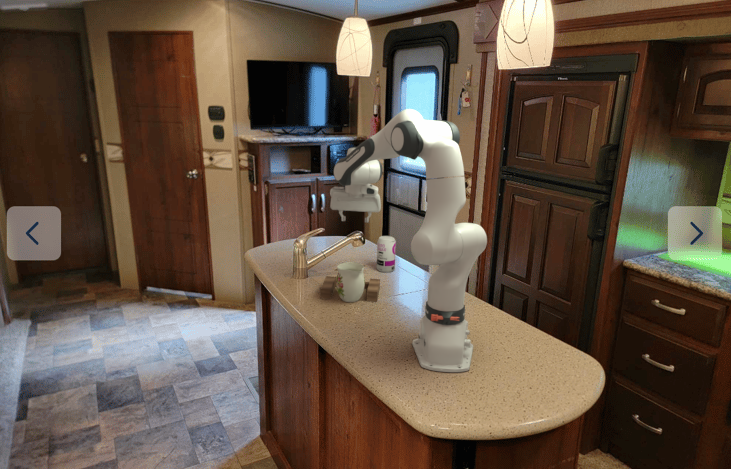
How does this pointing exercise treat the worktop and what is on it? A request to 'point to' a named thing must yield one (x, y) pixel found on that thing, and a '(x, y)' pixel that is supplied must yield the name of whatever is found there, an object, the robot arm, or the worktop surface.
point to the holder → (371, 288)
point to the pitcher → (350, 281)
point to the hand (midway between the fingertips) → (355, 221)
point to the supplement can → (386, 253)
